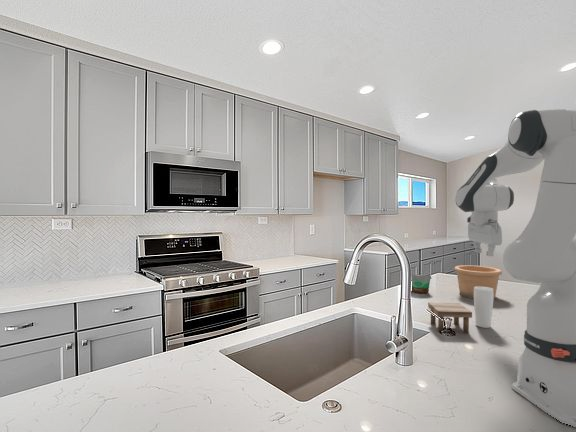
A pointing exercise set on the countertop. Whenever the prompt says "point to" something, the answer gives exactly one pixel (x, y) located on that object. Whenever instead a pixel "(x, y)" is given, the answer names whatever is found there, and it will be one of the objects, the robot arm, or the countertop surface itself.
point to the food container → (420, 284)
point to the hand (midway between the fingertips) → (483, 254)
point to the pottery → (476, 278)
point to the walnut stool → (450, 314)
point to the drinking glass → (483, 306)
